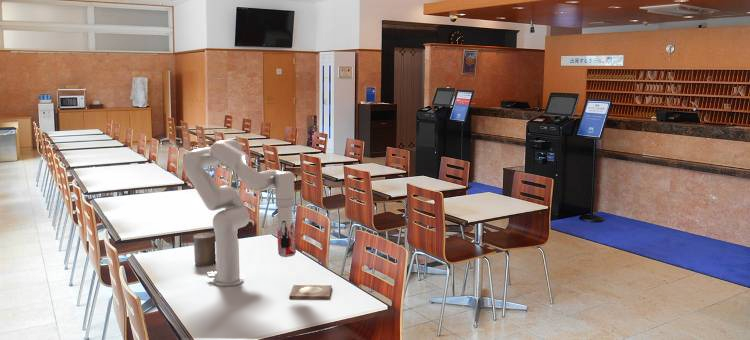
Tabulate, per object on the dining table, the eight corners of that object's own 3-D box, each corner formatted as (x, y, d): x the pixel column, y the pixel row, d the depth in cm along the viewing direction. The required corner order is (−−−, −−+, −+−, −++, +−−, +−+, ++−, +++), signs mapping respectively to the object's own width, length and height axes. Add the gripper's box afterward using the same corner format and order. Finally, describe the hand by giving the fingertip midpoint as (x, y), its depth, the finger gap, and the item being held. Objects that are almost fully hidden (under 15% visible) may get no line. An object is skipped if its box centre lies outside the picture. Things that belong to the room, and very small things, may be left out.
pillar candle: (220, 262, 304) (219, 231, 302) (204, 267, 296) (203, 236, 294) (205, 259, 310) (204, 229, 307) (190, 264, 301) (188, 233, 299)
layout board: (289, 298, 257) (289, 295, 257) (293, 287, 270) (293, 284, 270) (329, 299, 257) (329, 296, 257) (331, 288, 270) (331, 285, 270)
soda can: (292, 257, 258) (291, 226, 256) (275, 257, 259) (274, 225, 257) (298, 253, 265) (297, 222, 263) (281, 252, 266) (280, 221, 264)
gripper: (279, 198, 267) (281, 239, 270) (272, 206, 250) (273, 250, 253) (297, 198, 267) (298, 239, 270) (291, 206, 250) (292, 250, 253)
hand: (286, 244), depth 261 cm, fingers closed on soda can, 7 cm apart
